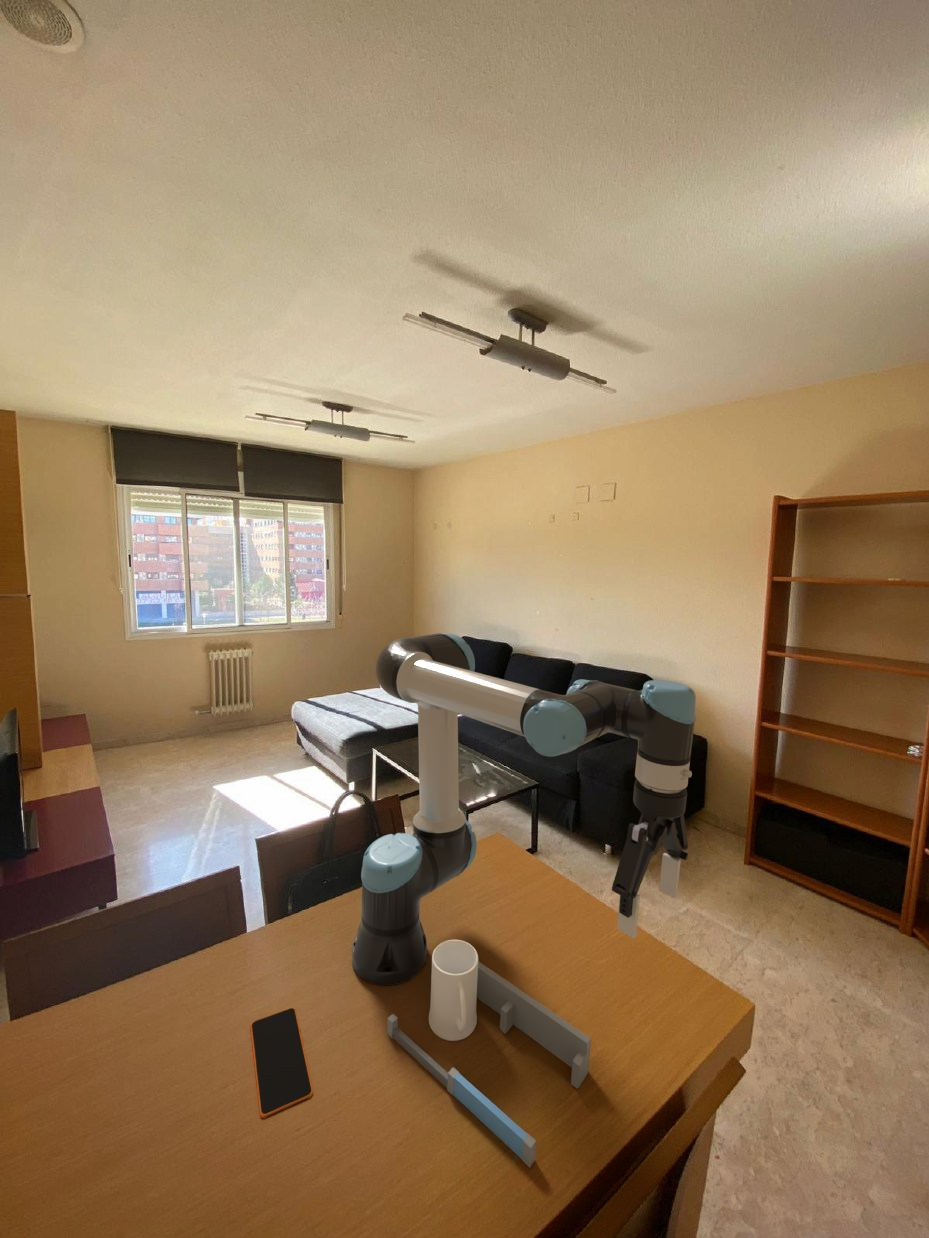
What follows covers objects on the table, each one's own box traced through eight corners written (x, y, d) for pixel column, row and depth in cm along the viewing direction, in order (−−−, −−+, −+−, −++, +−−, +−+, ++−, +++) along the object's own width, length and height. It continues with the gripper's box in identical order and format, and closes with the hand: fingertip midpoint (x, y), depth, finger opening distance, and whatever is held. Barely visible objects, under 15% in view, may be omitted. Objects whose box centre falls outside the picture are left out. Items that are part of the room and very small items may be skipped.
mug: (484, 1057, 82) (487, 990, 81) (431, 1062, 81) (434, 995, 80) (472, 996, 94) (475, 936, 92) (427, 999, 93) (429, 939, 91)
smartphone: (260, 1122, 72) (260, 1117, 72) (249, 1026, 86) (249, 1021, 86) (314, 1097, 75) (314, 1092, 75) (295, 1009, 90) (295, 1005, 90)
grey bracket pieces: (387, 1034, 86) (388, 1001, 85) (454, 973, 99) (455, 945, 98) (529, 1167, 67) (532, 1128, 67) (588, 1071, 80) (590, 1037, 80)
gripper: (644, 819, 66) (630, 967, 68) (717, 770, 83) (704, 890, 85) (594, 797, 71) (583, 936, 73) (672, 756, 88) (661, 869, 90)
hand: (648, 912), depth 79 cm, fingers open, 13 cm apart
